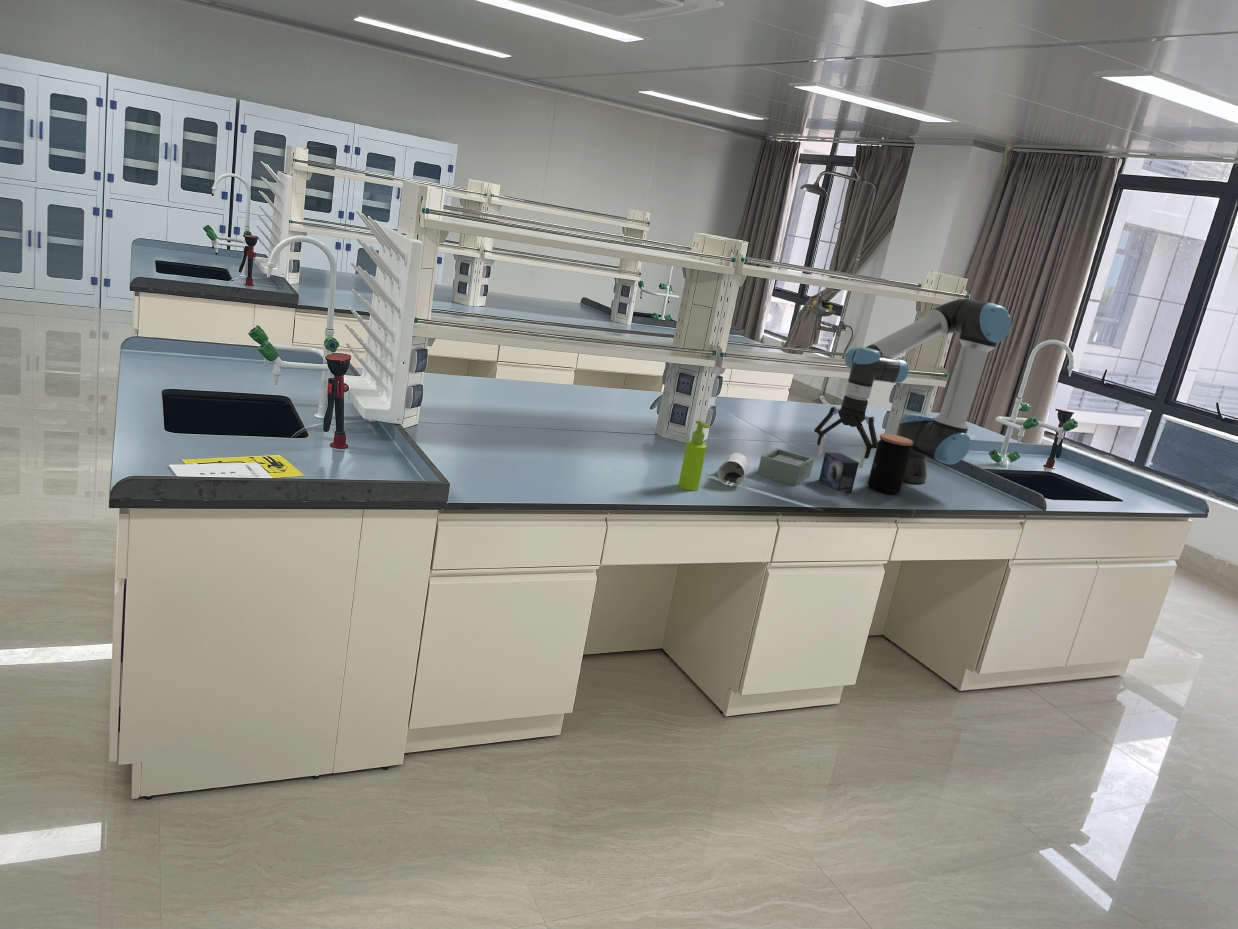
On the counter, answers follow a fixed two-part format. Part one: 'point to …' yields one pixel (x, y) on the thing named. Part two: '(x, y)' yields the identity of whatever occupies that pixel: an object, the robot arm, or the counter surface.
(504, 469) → the counter surface
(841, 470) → the small box
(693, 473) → the soap dispenser
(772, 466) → the box
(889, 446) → the coffee jar
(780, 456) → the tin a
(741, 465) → the white bottle
